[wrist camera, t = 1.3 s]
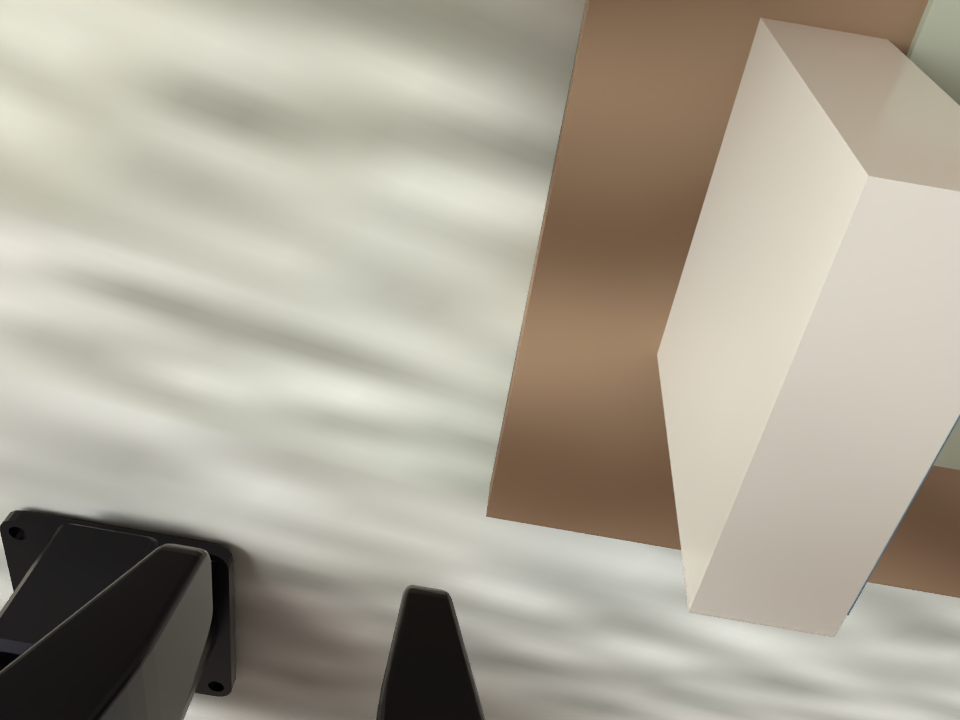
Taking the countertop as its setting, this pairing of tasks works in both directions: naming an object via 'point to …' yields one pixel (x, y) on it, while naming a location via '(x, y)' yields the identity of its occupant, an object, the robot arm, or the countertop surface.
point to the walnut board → (665, 268)
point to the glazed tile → (814, 328)
